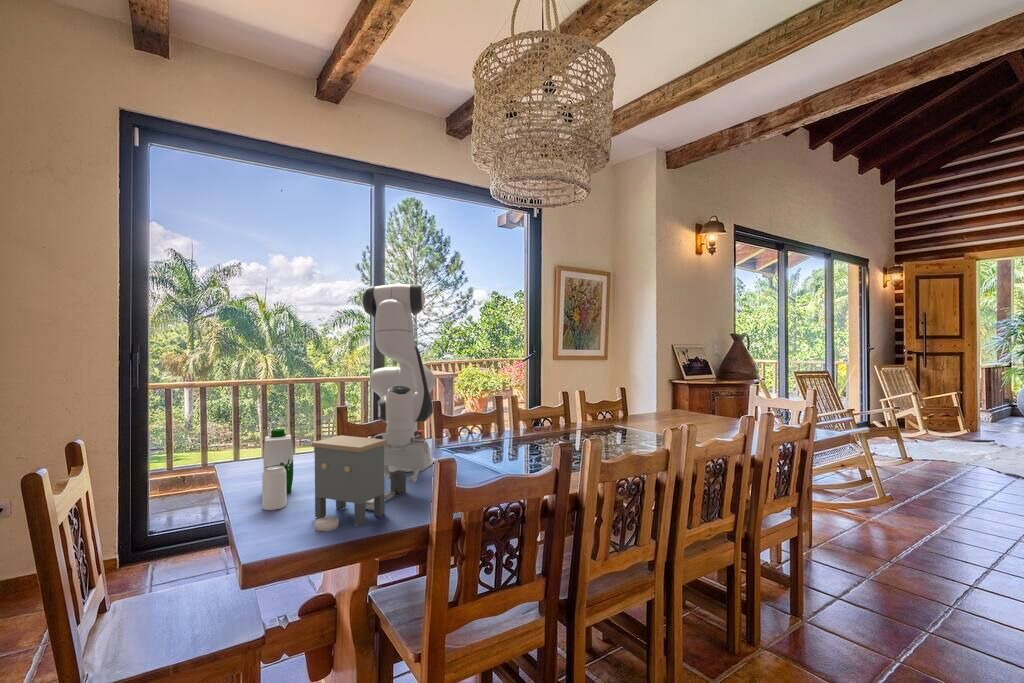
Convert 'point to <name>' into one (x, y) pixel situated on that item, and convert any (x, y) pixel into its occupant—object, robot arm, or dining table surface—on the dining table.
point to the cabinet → (349, 474)
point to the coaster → (326, 523)
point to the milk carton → (279, 453)
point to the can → (274, 487)
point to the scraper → (392, 487)
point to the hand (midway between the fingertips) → (400, 479)
